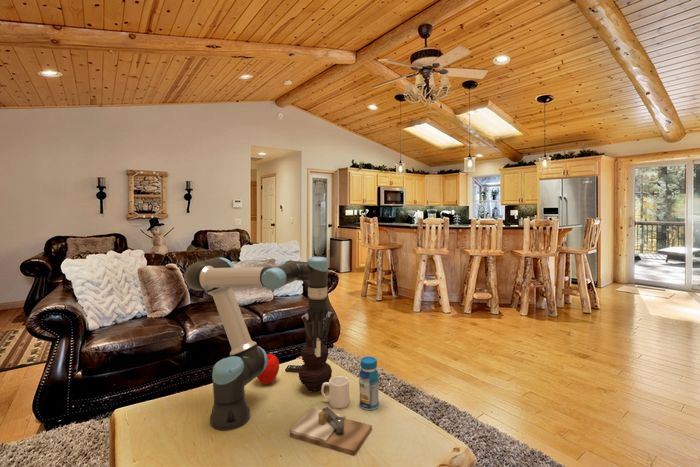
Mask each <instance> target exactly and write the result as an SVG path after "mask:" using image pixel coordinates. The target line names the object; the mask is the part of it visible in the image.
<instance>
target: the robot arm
mask: <svg viewBox="0 0 700 467" xmlns="http://www.w3.org/2000/svg"><path fill="white" fill-rule="evenodd" d="M328 271H329V269H328V260H327V258H326V257H322V256H311V257H309V258H308V259H307V261H299V260H292V259H290V260H282V261H281V262H280V263H279V265H277V266H249V267H248V266H247V267H246V266H243V267H241V266H239V267H235V266H234V264H233V263H232V261H231V260H229V259H227V258H225V257H213V258H210V259H206V260H205V259H204V260H202V261H197V262H194V263H192V264H190V265H189V266H188V268H187V269H186V270H185V273H184V280H185V283H186V285H187V287H189V288H190V289H191V290H194V291H206V292H207V294H208V295H210V296H211V297H212V298H213V300H214V304H215V307H216V310H217V312H218V315H219V318H220V320H221V323H222V325H223V329H224V331H225V334H226V336H227V340H228V342H229V345H230V348H231V351H230V352H229V356H228V357H224V358H222V359H220V360H218V361H217V362H216V363H215V364H214V365H213V367H212V377H211V380H212V388H213V389H212V390H213V392H212V393H213V406H212V410H211V414H210V415H209V416H210V417H209V424H210V426H211V427H212V428H213V429H215V430H217V431H218V430H219V431H229V430H234V429H239V428H240V427H241V426H243V425H244V426H245V424H246V423H247V422H248V421H249V420H250V418H251V410H250V407H249V405H248V402H247V400H246V396H245V393H246V392H245V387H246V386H247V385H248V384H249V383H251V382H252V381H253V380H254V379H257V377H258V376H259V375H260V374H261V373H262V372H263V371H264V370H265V368H266V366H267V362H268V359H267V353H266V351H265V349H263V348H262V347H261V346H258V344H257V342H256V341H253V340H252V338H251V335H250V333H249V329H248V326H247V325H246V322H245V319H244V317H243V313H242V311H241V308H240V305H239V303H238V300H237V296H236V295H235V291H234V289H233V288H266V289H267V290H273V291H274V290H278V289H280V288H283V287H284V286H286V285H288V284H291V283H293V282H295V281H299V282H300V281H301V282H307V296H308V297H307V310H306V313H305V314H304V315H301V316H300V317H301V319H302V321H303V323H304V324H305V325H304V328H306V330H305V331H306V332H307V336H308V338H309V339H310V340H312V346H313V348H315V355H316V357H320V347H323V344H324V340H325V339H326V338H328V335H329V331H330V326H331V322H332V319H333V317H334V316H335V314H334V313H333V312H332V311H329V308H328V274H329V273H328ZM309 318H310V319H311V322H312V334H311V330H310V326H309V323H310V321H309ZM324 319H325V321H324ZM317 322H318V337H319V338H317ZM323 324H324V326H323Z"/></svg>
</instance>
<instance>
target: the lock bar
mask: <svg viewBox="0 0 700 467" xmlns="http://www.w3.org/2000/svg"><path fill="white" fill-rule="evenodd" d="M321 410H322V411H323V412H326V420H327V421H328V422H329V423H330V424H331V425H332V426H333V427H334V428H335V433H336V434H337V435H342V434H344V418H343V417H339V416H337V415H336V414H337V413H335V412H334V411H333V410H332V409H331V408H330V407H328V406H326V407H324V408H322V409H321Z"/></svg>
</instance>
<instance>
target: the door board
mask: <svg viewBox="0 0 700 467" xmlns="http://www.w3.org/2000/svg"><path fill="white" fill-rule="evenodd" d="M335 414H336V415H337V416H339V417H343V418H344V434H342V435H337V434H336V433H335V428H334V427H333V426H332V425H331V424H330V423H329V422H328V421H327V420H326V412H323V411H322V409H318V408H314V407H311V408H310V409H309V410H308V411H307V412H306V413H305V414H304V415H303V416H302V417H301V418H300V419H299V420H298V421H297V422H296V423H295V424H293V426H292V427H291V428H290V429H289V438H293V439H296V440H301V441H305V442H308V443H310V444H314V445H318V446H320V447H325V448H328V449H331V450H334V451H338V452H341V453H345V454H348V455H352V456H356V454H357V453H358V451H359V449H360V448H361V446H362V445H363V444H364V442H365V440H366V439H367V437H368V436H369V434H370V432H371V431H372V426H373V425H372V424H370V423H369V424H368V423H365V422H361V421H356V420H353V419H349V418H346V415H342V414H338V413H335Z"/></svg>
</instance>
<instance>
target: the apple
mask: <svg viewBox="0 0 700 467" xmlns="http://www.w3.org/2000/svg"><path fill="white" fill-rule="evenodd" d="M266 354H267V353H266ZM267 359H268V362H267V366H266V368H265V370H264V371H263V372H262V373H261V374H260V375H259V376H258V377H256V379H257V380H258V381H259V382H260V383H261V384H263V385H269V384H272V383H273V382H274V381H275V379H276V377H277V376H278V373H279V370H280V362H279V359H278V357H277V356H276V355H275V354H272V353H268V354H267Z"/></svg>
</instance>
